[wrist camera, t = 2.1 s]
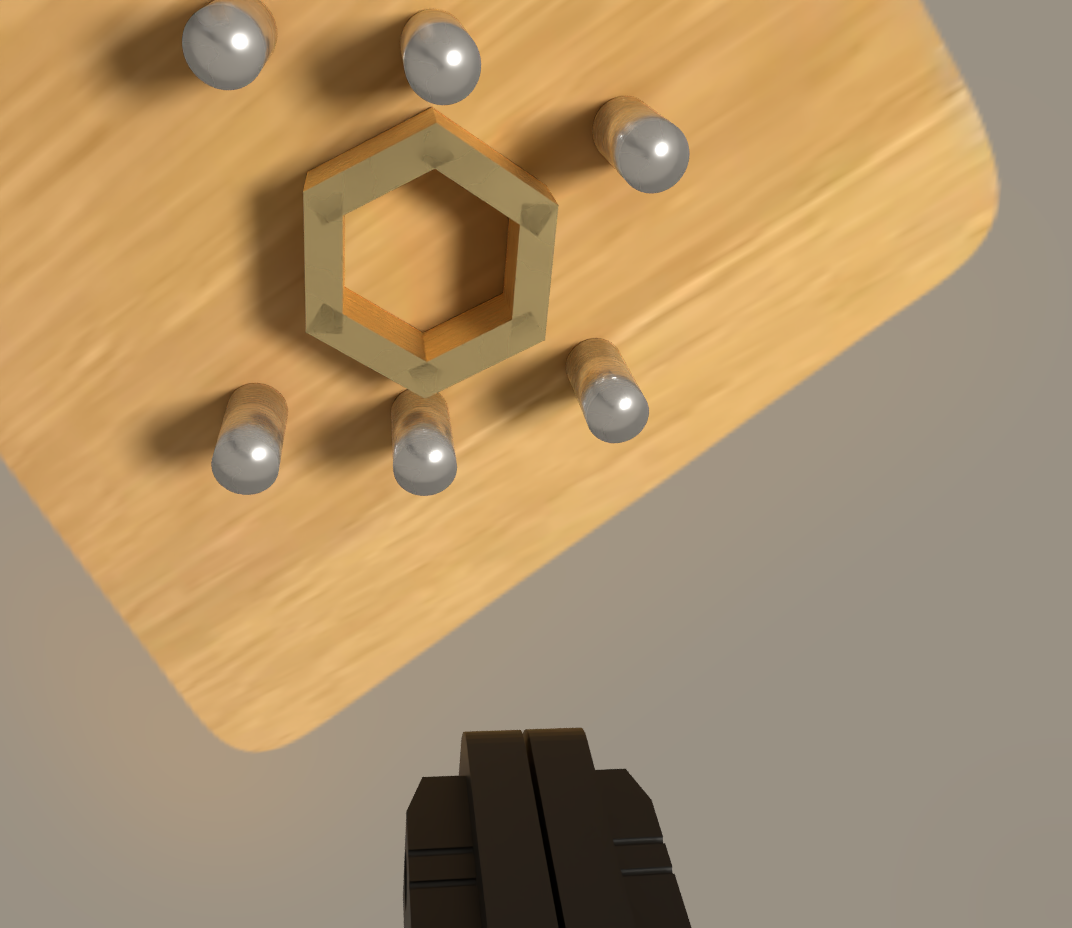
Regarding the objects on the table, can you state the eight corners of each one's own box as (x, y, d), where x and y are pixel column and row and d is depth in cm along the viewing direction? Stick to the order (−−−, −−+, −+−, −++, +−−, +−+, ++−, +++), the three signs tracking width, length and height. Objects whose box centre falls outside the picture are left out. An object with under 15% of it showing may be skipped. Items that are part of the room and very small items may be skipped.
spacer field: (229, 435, 35) (213, 494, 32) (202, -11, 28) (179, 1, 25) (611, 441, 37) (635, 497, 34) (668, 28, 31) (706, 45, 27)
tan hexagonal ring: (310, 364, 34) (306, 396, 32) (306, 98, 30) (301, 113, 28) (528, 370, 35) (539, 401, 33) (552, 115, 31) (566, 131, 29)
